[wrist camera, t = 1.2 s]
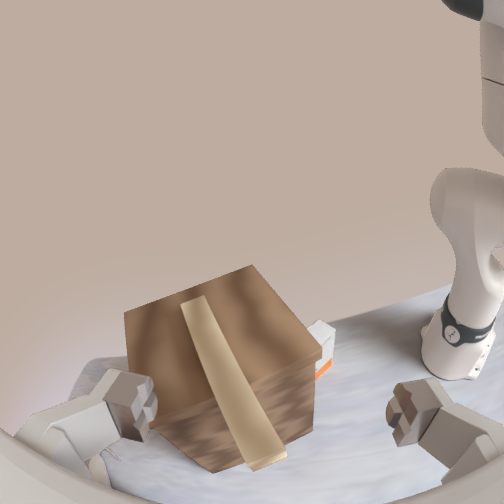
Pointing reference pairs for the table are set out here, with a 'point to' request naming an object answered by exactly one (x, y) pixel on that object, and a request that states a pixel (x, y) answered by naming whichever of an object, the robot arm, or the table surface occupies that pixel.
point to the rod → (232, 389)
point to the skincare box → (323, 345)
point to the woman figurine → (100, 469)
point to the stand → (245, 352)
